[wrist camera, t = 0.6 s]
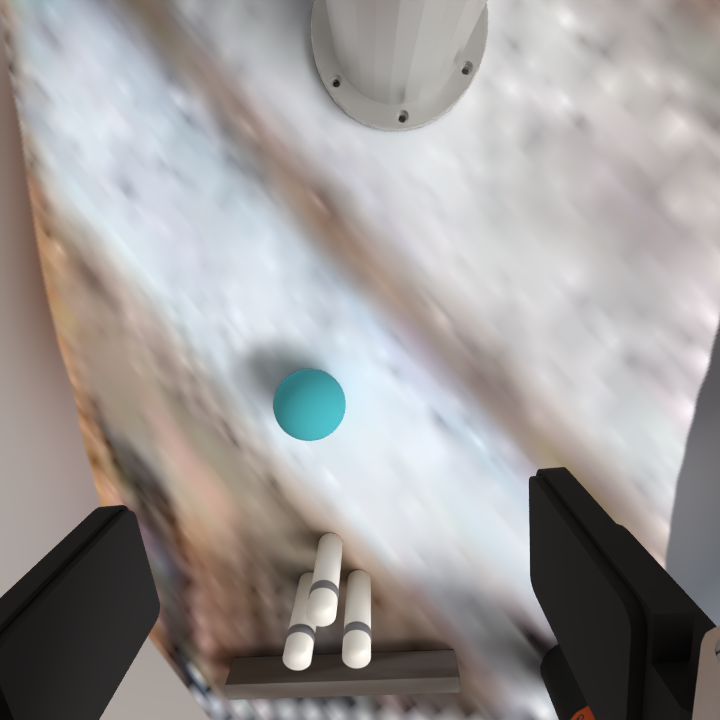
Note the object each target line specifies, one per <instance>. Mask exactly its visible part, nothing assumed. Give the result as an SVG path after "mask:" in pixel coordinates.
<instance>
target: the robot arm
mask: <svg viewBox="0 0 720 720" xmlns="http://www.w3.org/2000/svg"><path fill="white" fill-rule="evenodd" d="M486 2H487V0H314V3H313V10H312V16H311V42H312V48H313V54H314V59H315V63H316V66H317V69H318V72H319V74H320V77H321V79H322V81H323V83H324V85H325V88H326V89H327V91H328V92H329V94H330V95H331V97H332V98H333V100H334V101H335V102H336V103H337V104H338V105H339V106H340V107H341V108H342V109H343V110H344V111H345V112H346V113H347V114H348V115H349V116H351V117H352V118H354V119H355V120H357V121H358V122H360V123H362V124H364V125H367V126H369V127H372V128H374V129H379V130H384V131H390V132H394V131H409V130H413V129H417V128H421V127H423V126H425V125H427V124H430V123H432V122H434V121H436V120H437V119H439V118H440V117H441V116H443V115H444V114H446V113H447V112H448V111H450V110H451V109H452V108H453V106H454V105H455V104H456V103H457V102H458V101H459V100H460V99H461V98H462V97H463V95H464V94H465V92H466V91H467V89H468V88H469V86H470V85H471V83H472V81H473V79H474V78H475V76H476V74H477V72H478V70H479V67H480V64H481V61H482V58H483V55H484V52H485V47H486V41H487V35H488V9H487V3H486ZM463 69H465V70H467V71H468V74H467V75H465V74H463V73H462V70H463ZM334 82H339V83H340V85H339V87H334V86H333V84H334ZM401 116H403V117H404V118H405V122H403V123H402V122H400V121H399V118H400V117H401ZM529 523H530V578H531V583H532V587H533V590H534V593H535V595H536V597H537V599H538V601H539V604H540V606H541V608H542V610H543V612H544V614H545V616H546V618H547V620H548V622H549V624H550V626H551V629H552V631H553V633H554V635H555V637H556V639H557V641H558V643H559V645H560V647H561V649H562V652H563V654H564V656H565V658H566V660H567V662H568V664H569V666H570V668H571V670H572V672H573V674H574V677H575V679H576V681H577V683H578V685H579V687H580V689H581V691H582V693H583V695H584V697H585V700H586V702H587V704H588V706H589V708H590V710H591V712H592V714H593V716H594V718H595V720H720V626H719V627H717V626H716V625H715V624H714V623H713V622H712V621H711V620H710V619H709V618H708V616H707V615H706V614H705V613H704V612H703V611H702V610H701V609H700V608H699V607H698V606H697V605H696V603H695V602H694V601H693V600H692V599H691V598H690V597H689V596H688V595H687V594H686V593H685V591H684V590H683V589H682V588H681V587H680V586H679V585H678V584H677V583H676V582H675V581H674V580H673V578H672V577H671V576H670V575H669V574H668V573H667V572H666V571H665V570H664V569H663V568H662V567H661V565H660V564H659V563H658V562H657V561H656V560H655V559H654V558H653V557H652V556H651V555H650V554H649V552H648V551H647V550H646V549H645V548H644V547H643V546H642V545H641V544H640V543H639V542H638V541H637V539H636V538H635V537H634V536H633V535H632V534H631V533H630V532H629V531H628V530H627V529H626V528H625V527H624V526H622V525H619V524H616V523H615V522H614V521H613V520H612V518H611V517H610V516H609V515H608V514H607V513H606V512H605V511H604V510H603V508H602V507H601V506H600V505H599V504H598V503H597V502H596V501H595V500H594V498H593V497H592V496H591V495H590V494H589V493H588V492H587V491H586V490H585V488H584V487H583V486H582V485H581V484H580V483H579V482H578V481H577V480H576V478H575V477H574V476H573V475H572V474H571V473H570V472H569V471H568V470H567V469H566V468H565V467H559V468H547V469H539V470H538V471H537V474H536V476H531V477H530V479H529ZM159 611H160V602H159V598H158V595H157V591H156V587H155V584H154V580H153V576H152V573H151V569H150V565H149V562H148V558H147V554H146V551H145V547H144V544H143V540H142V536H141V533H140V529H139V525H138V522H137V518H136V515H135V513H134V512H133V511H129V509H128V508H127V507H126V506H124V505H118V506H106V507H98V508H97V509H95V510H94V511H93V512H92V513H91V514H90V515H89V516H87V517H86V518H85V519H84V520H83V521H82V522H81V523H80V524H79V525H78V526H77V527H76V528H75V529H74V530H73V531H72V532H70V533H69V534H68V535H67V536H66V537H65V538H64V539H63V540H62V541H61V542H60V543H59V544H58V545H56V547H54V548H53V549H52V550H51V551H50V552H49V553H48V554H47V555H46V556H45V557H44V558H43V559H42V560H41V561H39V562H38V563H37V564H36V565H35V566H34V567H33V568H32V569H31V570H30V571H29V572H28V573H27V574H26V575H24V576H23V577H22V578H21V579H20V580H19V581H18V582H17V583H16V584H15V585H14V586H13V587H12V588H11V589H10V590H9V591H7V592H6V593H5V594H4V595H3V596H2V597H1V598H0V720H99V719H100V717H101V715H102V714H103V712H104V710H105V709H106V707H107V705H108V703H109V702H110V700H111V698H112V697H113V695H114V693H115V691H116V690H117V688H118V686H119V684H120V683H121V681H122V679H123V677H124V676H125V674H126V672H127V671H128V669H129V667H130V665H131V664H132V662H133V660H134V659H135V657H136V655H137V653H138V652H139V650H140V648H141V647H142V645H143V643H144V641H145V640H146V638H147V636H148V634H149V633H150V631H151V629H152V628H153V626H154V624H155V622H156V621H157V618H158V615H159Z"/></svg>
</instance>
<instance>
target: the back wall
mask: <svg viewBox="0 0 720 720" xmlns="http://www.w3.org/2000/svg"><path fill="white" fill-rule="evenodd" d="M225 687H226V692H227V697H228V700H237V699H269V698H300V697H331V696H362V695H393V694H424V693H456V692H460V676H459V671H458V666H457V661H456V656H455V652H454V650H433V651H406V652H378V653H371V660H370V662H369V663H368V665H366V666H365V667H362V668H351V667H349V666H347V665H346V664H345V663H344V662H343V660H342V654H323V655H312V658H311V663H310V665H309V666H308V667H307V668H306V669H303V670H292V669H290V668H288V667H287V666H286V665H285V664H284V662H283V656H269V657H241V658H234V660H233V663H232V666H231V669H230V672H229V675H228V678H227V681H226V684H225Z"/></svg>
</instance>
